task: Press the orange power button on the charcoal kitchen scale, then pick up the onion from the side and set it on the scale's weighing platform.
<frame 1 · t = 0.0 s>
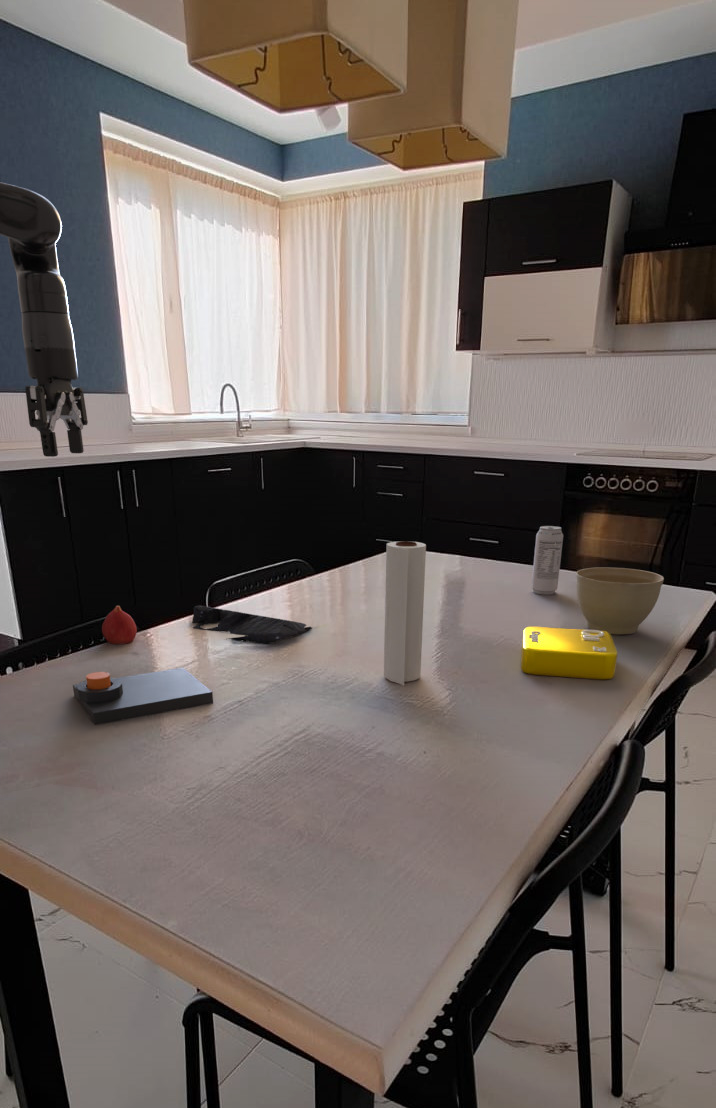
hand: (64, 454, 129), 32 cm above the table, tool pointing down, fingers open, 8 cm apart
onion: (121, 650, 137), on the table
paper towel roll: (399, 678, 125), on the table
planter bowl: (611, 630, 153), on the table
dark slate chunk: (248, 634, 148), on the table
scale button: (98, 681, 110), point 4 cm above the table, slide at 0.2 cm
energy drink can: (543, 593, 182), on the table
scale: (143, 700, 114), on the table
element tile: (565, 665, 132), on the table
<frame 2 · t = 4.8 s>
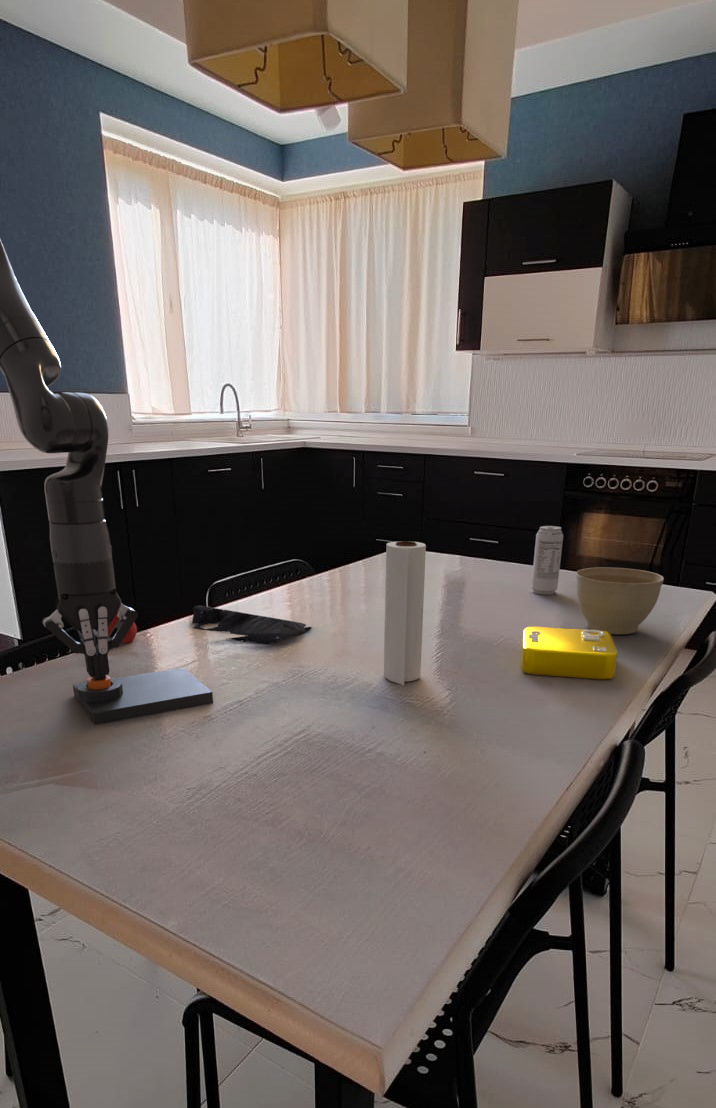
hand: (99, 678, 109), 4 cm above the table, tool pointing down, fingers closed
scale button: (99, 684, 110), point 4 cm above the table, slide at -0.3 cm, touching gripper
everything else where it was.
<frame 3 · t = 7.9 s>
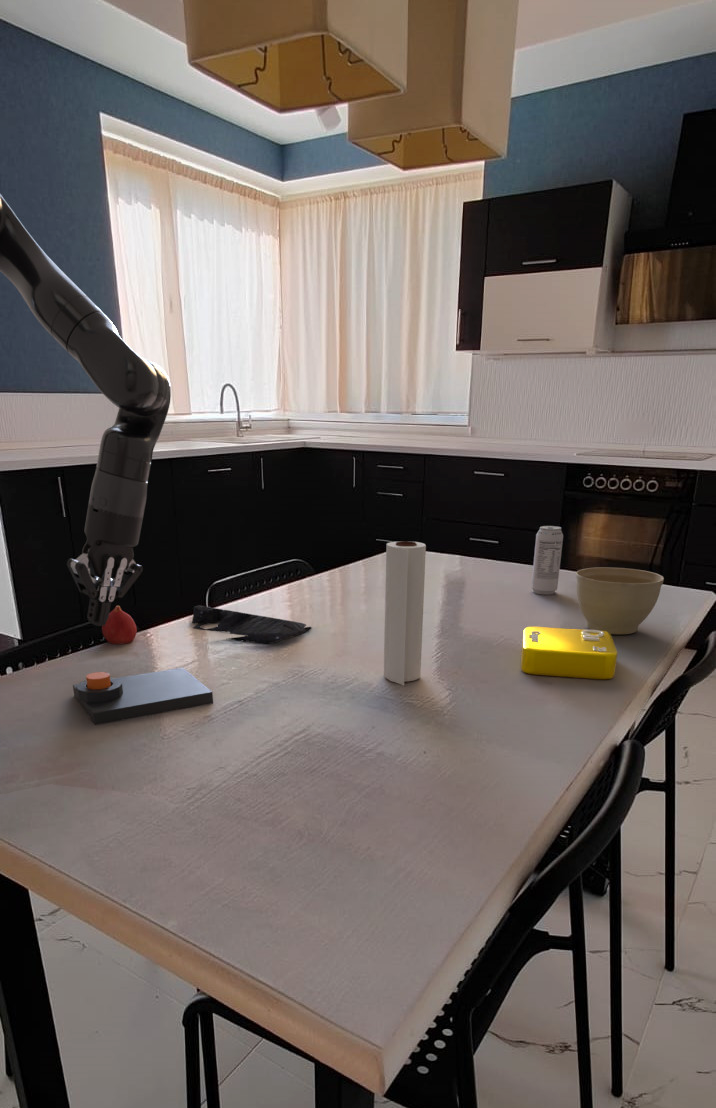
hand: (96, 623, 115), 10 cm above the table, tool tilted 15°, fingers closed
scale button: (98, 681, 110), point 4 cm above the table, slide at 0.2 cm
everything else where it was.
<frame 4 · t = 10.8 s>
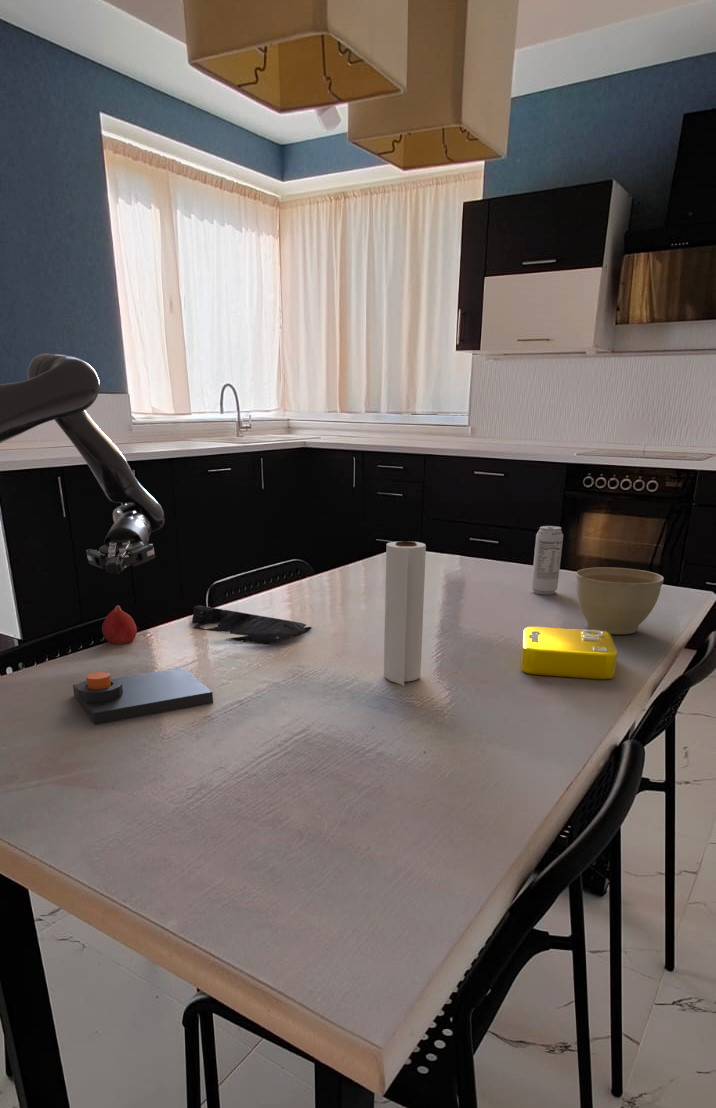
hand: (113, 569, 136), 13 cm above the table, tool horizontal, fingers closed
nothing on the table moved.
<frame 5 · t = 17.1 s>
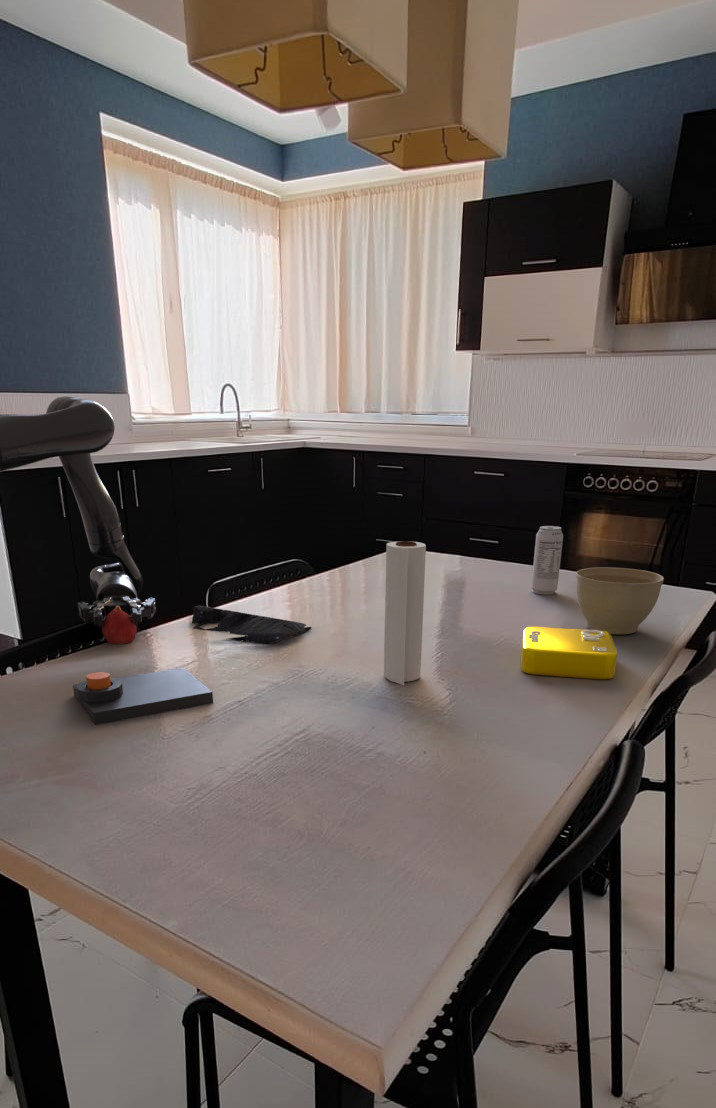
hand: (118, 620, 133), 6 cm above the table, tool horizontal, fingers closed on onion, 5 cm apart
onion: (121, 650, 137), on the table, touching gripper
everything else where it was.
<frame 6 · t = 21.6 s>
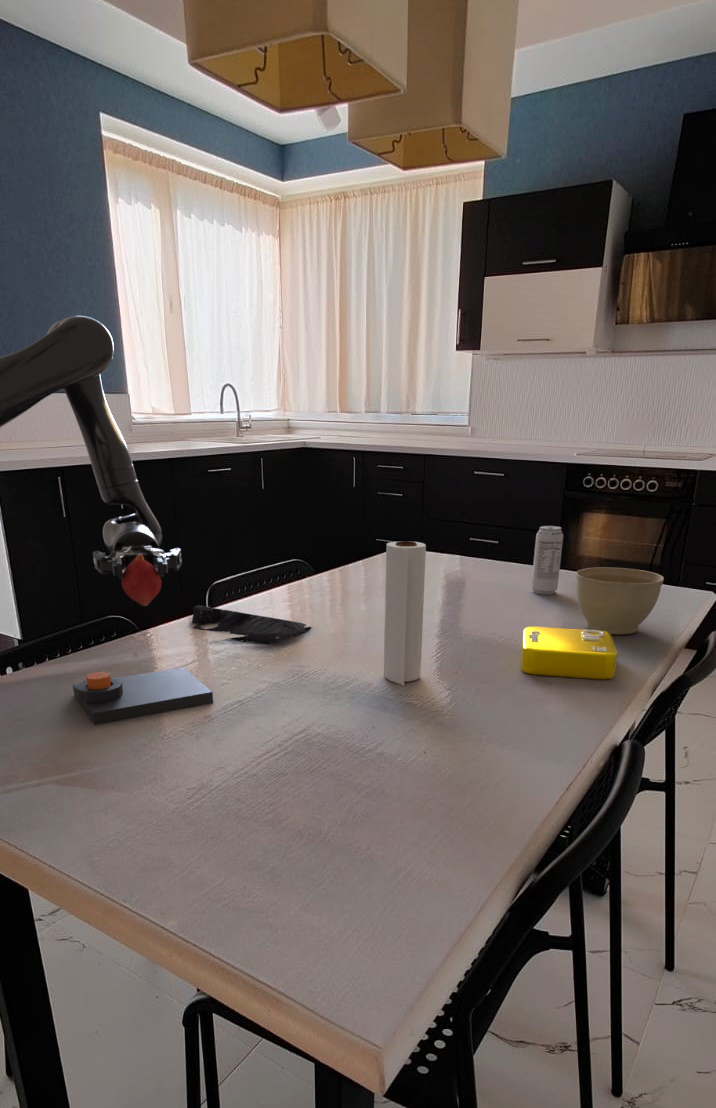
hand: (140, 570, 114), 18 cm above the table, tool horizontal, fingers closed on onion, 5 cm apart
onion: (144, 607, 119), point 11 cm above the table, touching gripper
everything else where it was.
when the fingers open (8 cm above the table, at t = 26.1 s): onion stays where it is, resting on scale.
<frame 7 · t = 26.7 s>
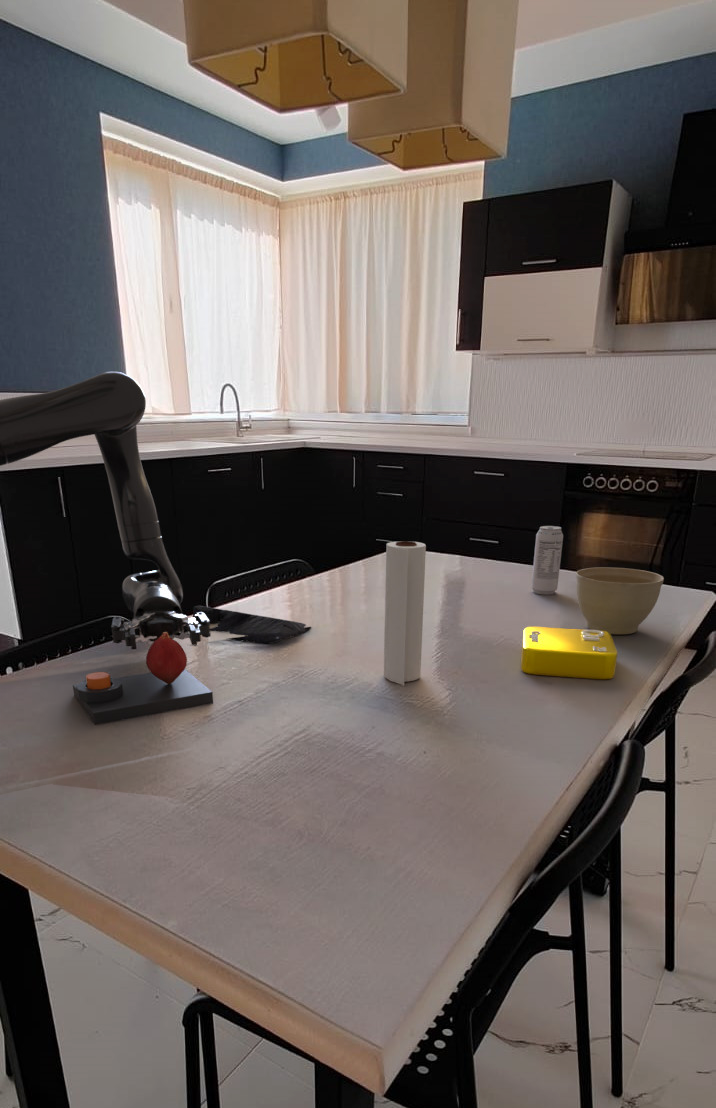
hand: (164, 640, 111), 9 cm above the table, tool horizontal, fingers open, 8 cm apart
onion: (168, 684, 115), point 2 cm above the table, touching scale
everything else where it was.
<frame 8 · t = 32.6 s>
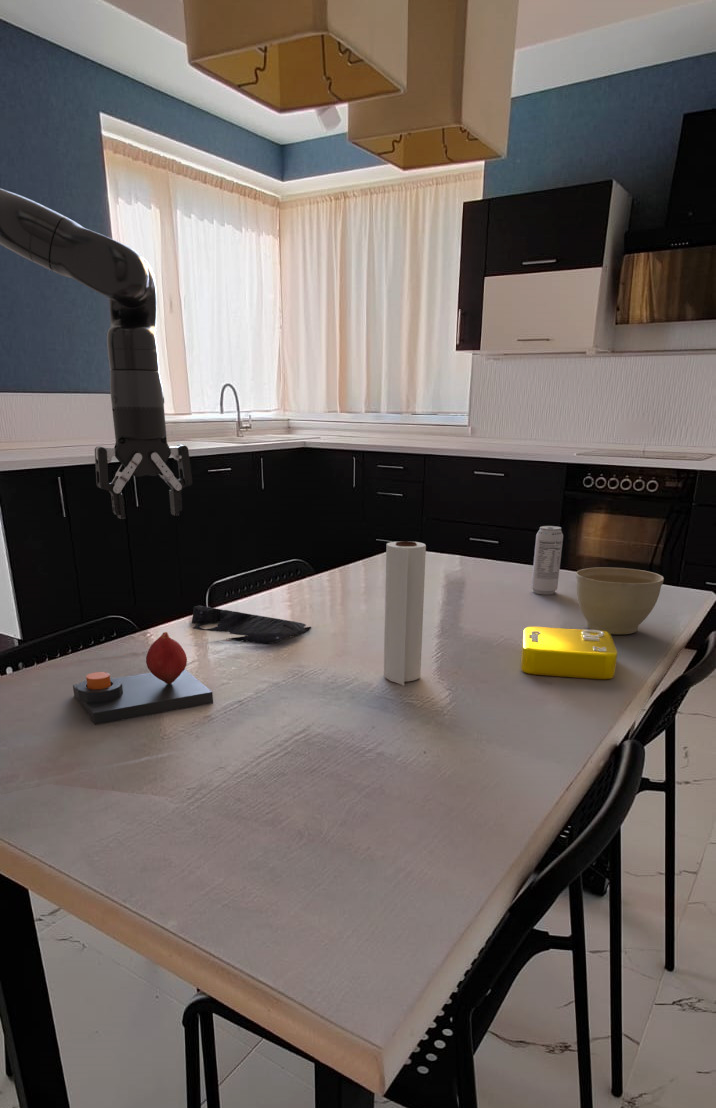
hand: (148, 516, 121), 24 cm above the table, tool pointing down, fingers open, 8 cm apart
nothing on the table moved.
at the end: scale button pushed in 0.9 cm at the most during the clip, back to 0.2 cm at the end; onion inside the target area on the scale (4.1 cm from its centre), point 1.7 cm above the scale's base; onion touching scale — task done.
